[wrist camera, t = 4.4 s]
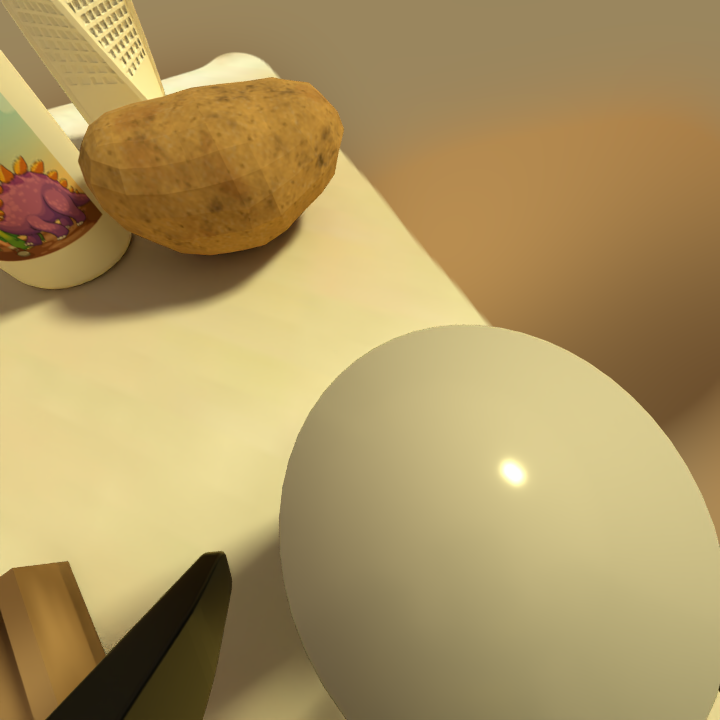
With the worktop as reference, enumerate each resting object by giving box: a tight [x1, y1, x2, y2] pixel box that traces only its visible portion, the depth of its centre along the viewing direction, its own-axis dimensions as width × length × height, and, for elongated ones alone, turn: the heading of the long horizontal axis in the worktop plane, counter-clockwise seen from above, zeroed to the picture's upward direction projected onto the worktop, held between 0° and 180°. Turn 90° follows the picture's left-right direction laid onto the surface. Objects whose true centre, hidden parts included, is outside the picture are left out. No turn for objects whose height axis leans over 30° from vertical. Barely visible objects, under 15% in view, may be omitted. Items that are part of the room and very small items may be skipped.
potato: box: [78, 77, 344, 255], centre depth 20 cm, size 10×14×8 cm
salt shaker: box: [279, 325, 720, 720], centre depth 10 cm, size 5×5×13 cm
